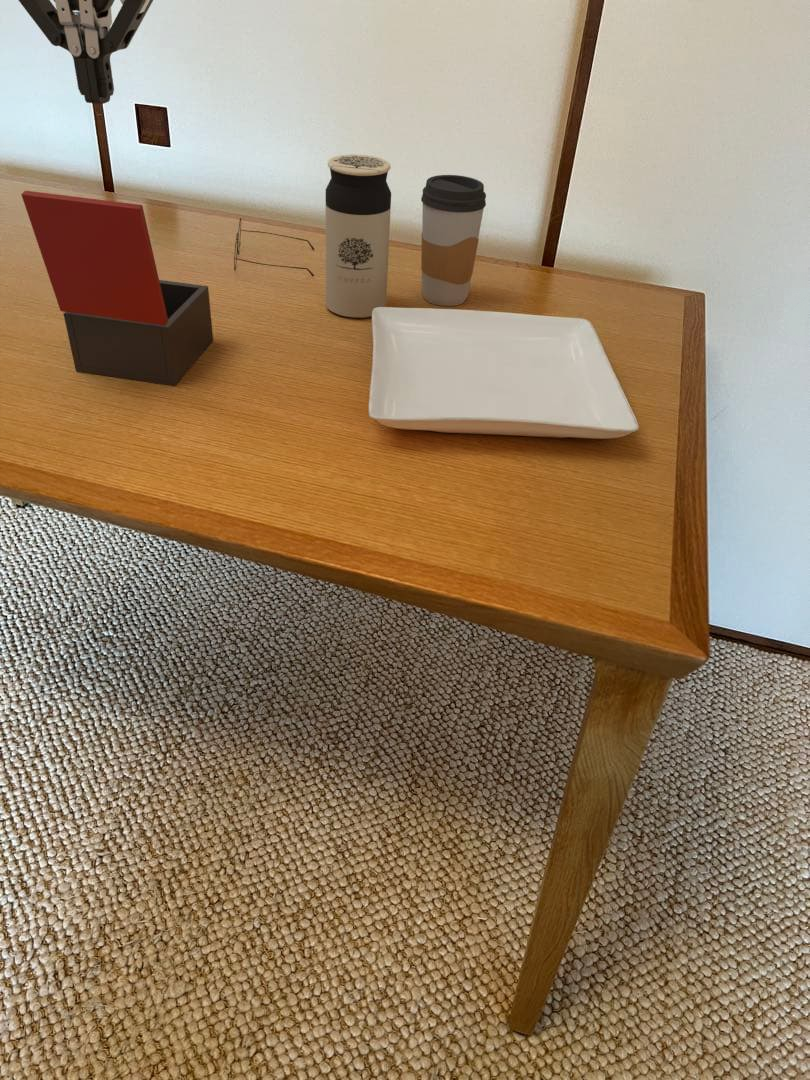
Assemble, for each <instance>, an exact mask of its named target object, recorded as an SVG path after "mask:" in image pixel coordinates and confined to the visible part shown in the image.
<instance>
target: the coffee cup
mask: <svg viewBox="0 0 810 1080" xmlns="http://www.w3.org/2000/svg"><path fill="white" fill-rule="evenodd" d="M486 199H487V193H486V192H485V185H484V183H483V182H482V181H481V180H478V179H476V178H473V177H469V176H466V175H457V174H439V175H434V176H430V177H429V178H427V179H426V183H425V186H424V187H423V189H422V195H421V198H420V200H421V203H422V222H421V223H422V227H421V228H422V229H421V253H420V255H421V257H420V258H421V260H420V266H421V267H420V269H421V294H422V295H423V299H424V300H425V301H427V302H428V303H430V304H433V305H436V306H442V307H452V306H453V307H454V306H459V305H462V304H463V303H465V301H466V299H467V298H468V296H469V292H470V287H471V280H472V276H473V272H474V267H475V261H476V256H477V251H478V245H479V240H480V239H479V238H480V237H479V236H480V232H481V225H482V220H483V215H484V211H485V208H486V206H487V202H486Z"/></svg>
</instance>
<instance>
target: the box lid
mask: <svg viewBox="0 0 810 1080" xmlns="http://www.w3.org/2000/svg"><path fill="white" fill-rule="evenodd" d="M20 195H21V198H22V201H23V204H24V207H25V210H26V213H27V216H28V219H29V222H30V225H31V227H32V232H33V233H34V237H35V239H36V242H37V245H38V248H39V252H40V255H41V257H42V260H43V264H44V266H45V270H46V272H47V276H48V278H49V282H50V284H51V287H52V290H53V293H54V296H55V300H56V301H57V305H58V308H59V310H60V312H63V313H65V312H70V313H78V314H85V315H92V316H99V317H106V318H114V319H121V320H128V321H135V322H142V323H150V324H157V325H164V326H166V324H167V323H168V318H167V313H166V309H165V304H164V300H163V295H162V291H161V286H160V282H159V280H160V278H159V272H158V268H157V264H156V259H155V256H154V251H153V245H152V242H151V239H150V233H149V230H148V224H147V220H146V215H145V211H144V205H143V204H138V203H130V202H123V201H121V202H120V201H113V200H105V199H99V198H98V199H97V198H91V197H90V198H89V197H83V196H82V197H81V196H74V195H64V194H57V193H49V192H40V191H34V190H24V191H23V192H22V193H21V194H20Z"/></svg>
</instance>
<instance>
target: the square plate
mask: <svg viewBox="0 0 810 1080" xmlns="http://www.w3.org/2000/svg"><path fill="white" fill-rule="evenodd" d="M371 328H372V331H371V332H372V359H371V361H372V362H371V364H372V365H371V371H370V372H371V373H370V383H369V396H368V405H367V406H368V409H367V410H368V416H369V417H370V418H371V419H373V420H375V421H377V422H378V423H379V424H381V425H383V426H385V427H388V428H391V429H397V430H398V429H399V430H412V431H413V430H414V431H415V430H416V431H430V432H437V433H448V434H449V433H451V434H452V433H453V434H477V435H498V436H500V435H502V436H522V437H540V438H555V439H556V438H557V439H558V438H563V439H564V438H578V439H602V440H603V439H618V438H623V437H625V436H628V435H630V434H632V433H634V432H637V431H638V430H639V428H640V426H639V423H638V420H637V418H636V416H635V413H634V411H633V409H632V407H631V405H630V403H629V401H628V399H627V397H626V395H625V392H624V390H623V388H622V386H621V384H620V382H619V380H618V377H617V376H616V373H615V371H614V369H613V366H612V364H611V362H610V360H609V358H608V356H607V354H606V351H605V348H604V347H603V344H602V342H601V340H600V338H599V335H598V333H597V331H596V329H595V328H594V326H593V323H592V322H591V321H590V320H588V319H585V318H579V317H566V316H565V317H564V316H563V317H562V316H553V315H552V316H551V315H542V314H541V315H540V314H530V313H529V314H528V313H516V312H504V311H490V310H476V309H475V310H474V309H457V308H456V309H455V308H453V309H452V308H426V307H425V308H423V307H394V306H393V307H390V306H386V307H377V308H374V309H373V311H372V316H371Z"/></svg>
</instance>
